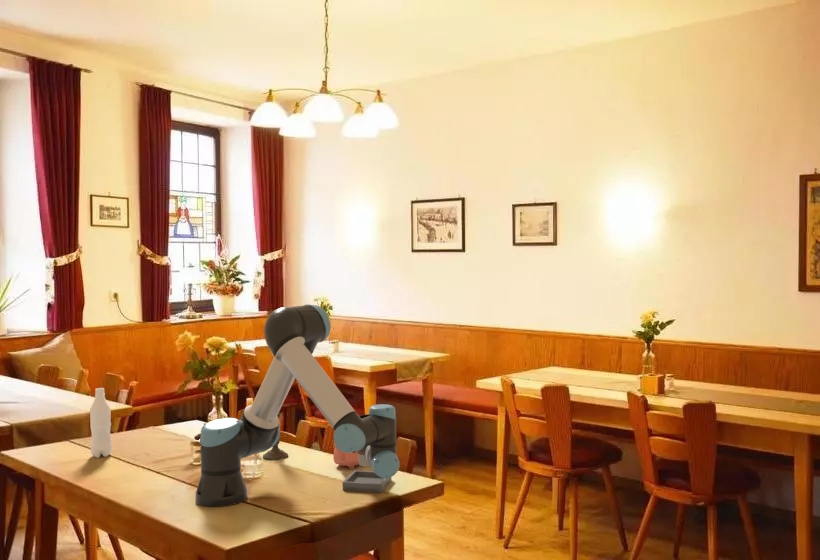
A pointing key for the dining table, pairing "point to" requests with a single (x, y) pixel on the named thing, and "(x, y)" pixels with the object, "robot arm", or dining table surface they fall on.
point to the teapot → (345, 458)
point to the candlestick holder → (275, 453)
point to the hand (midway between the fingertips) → (365, 433)
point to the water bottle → (100, 425)
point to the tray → (365, 482)
